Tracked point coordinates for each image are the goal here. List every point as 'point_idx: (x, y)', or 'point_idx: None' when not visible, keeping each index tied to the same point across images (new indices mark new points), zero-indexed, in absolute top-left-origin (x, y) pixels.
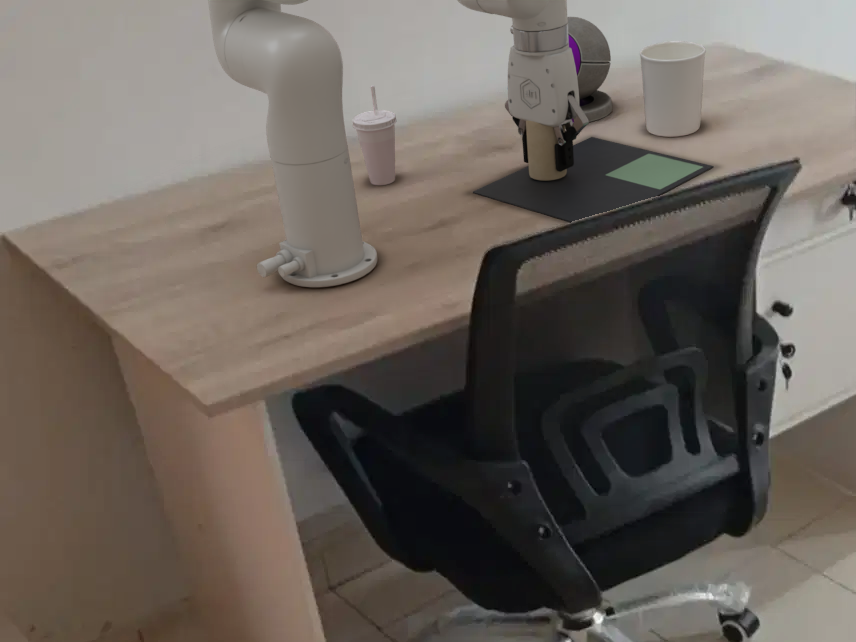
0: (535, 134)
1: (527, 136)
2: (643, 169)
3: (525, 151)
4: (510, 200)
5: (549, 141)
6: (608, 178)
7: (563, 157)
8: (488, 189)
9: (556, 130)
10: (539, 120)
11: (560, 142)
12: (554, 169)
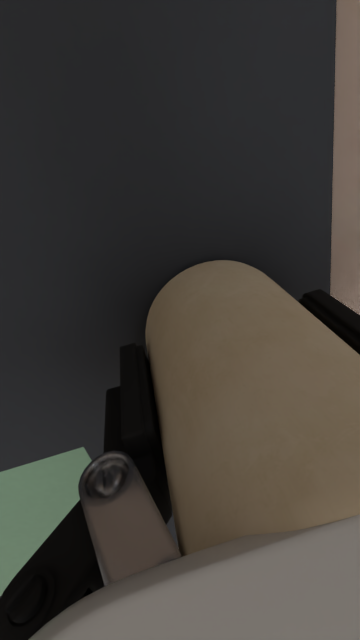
0: (271, 406)
1: (349, 360)
2: (53, 521)
3: (335, 313)
4: (67, 1)
5: (177, 428)
6: (50, 444)
7: (119, 404)
8: (287, 13)
9: (144, 541)
10: (279, 584)
11: (110, 467)
12: (150, 340)
